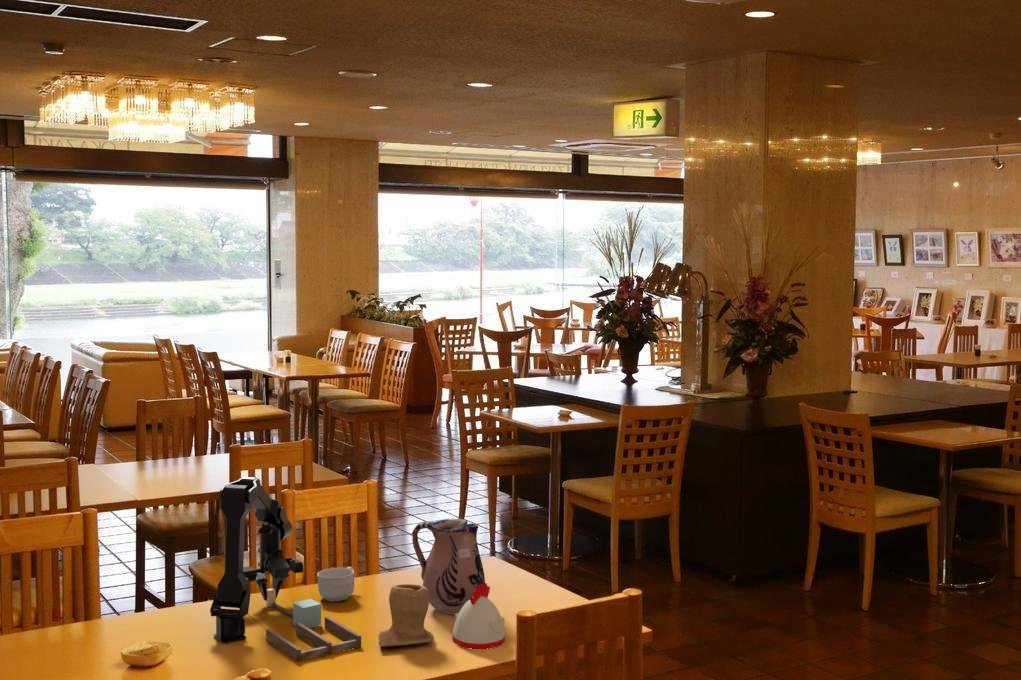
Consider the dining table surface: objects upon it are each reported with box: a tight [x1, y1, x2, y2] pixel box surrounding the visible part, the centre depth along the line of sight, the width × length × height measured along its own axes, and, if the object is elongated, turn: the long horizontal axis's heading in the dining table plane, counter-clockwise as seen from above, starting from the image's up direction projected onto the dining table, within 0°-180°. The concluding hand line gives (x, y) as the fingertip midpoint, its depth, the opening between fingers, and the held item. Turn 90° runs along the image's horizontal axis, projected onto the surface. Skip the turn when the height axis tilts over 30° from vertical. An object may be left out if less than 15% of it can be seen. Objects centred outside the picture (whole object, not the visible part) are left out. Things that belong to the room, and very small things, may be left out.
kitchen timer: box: [452, 582, 506, 650], centre depth 293 cm, size 14×14×15 cm
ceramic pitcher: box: [411, 518, 486, 615], centre depth 316 cm, size 18×21×25 cm
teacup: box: [316, 566, 355, 602], centre depth 326 cm, size 14×11×8 cm
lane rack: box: [265, 616, 362, 663], centre depth 288 cm, size 18×18×3 cm
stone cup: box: [378, 583, 435, 648], centre depth 290 cm, size 15×12×15 cm
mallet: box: [266, 587, 322, 629], centre depth 310 cm, size 6×24×6 cm, turn 40°
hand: (270, 599), depth 319 cm, fingers closed on mallet, 3 cm apart
